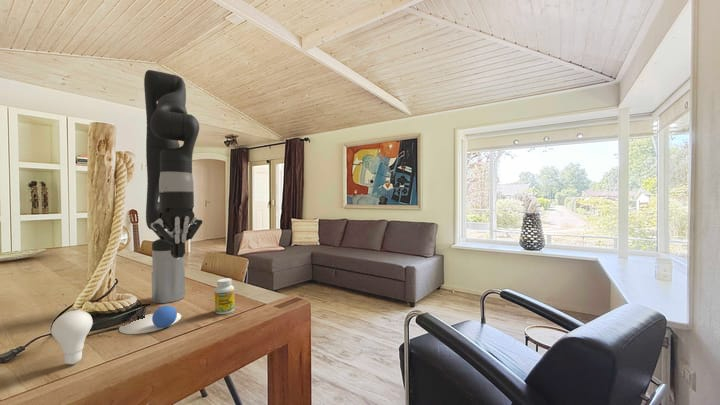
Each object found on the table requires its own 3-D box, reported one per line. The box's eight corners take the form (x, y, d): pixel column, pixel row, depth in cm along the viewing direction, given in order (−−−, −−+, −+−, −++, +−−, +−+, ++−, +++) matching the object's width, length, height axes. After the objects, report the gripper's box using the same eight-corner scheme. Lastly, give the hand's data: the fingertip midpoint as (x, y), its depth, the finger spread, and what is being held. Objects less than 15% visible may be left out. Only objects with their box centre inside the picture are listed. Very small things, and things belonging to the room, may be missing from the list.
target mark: (107, 328, 77) (107, 327, 77) (162, 309, 90) (162, 308, 90) (138, 338, 71) (138, 337, 71) (192, 317, 84) (192, 316, 84)
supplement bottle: (232, 306, 92) (232, 276, 92) (236, 312, 87) (235, 280, 87) (214, 310, 89) (213, 279, 89) (216, 316, 84) (215, 283, 84)
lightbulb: (71, 356, 63) (69, 306, 63) (101, 355, 64) (100, 305, 64) (42, 373, 57) (41, 317, 57) (76, 371, 58) (75, 316, 57)
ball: (164, 315, 74) (157, 334, 74) (184, 309, 79) (177, 327, 79) (151, 304, 76) (144, 323, 76) (171, 299, 81) (164, 317, 81)
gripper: (191, 191, 83) (192, 252, 83) (139, 190, 71) (141, 261, 71) (209, 190, 79) (210, 254, 80) (158, 189, 67) (160, 264, 68)
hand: (178, 257), depth 75 cm, fingers closed
